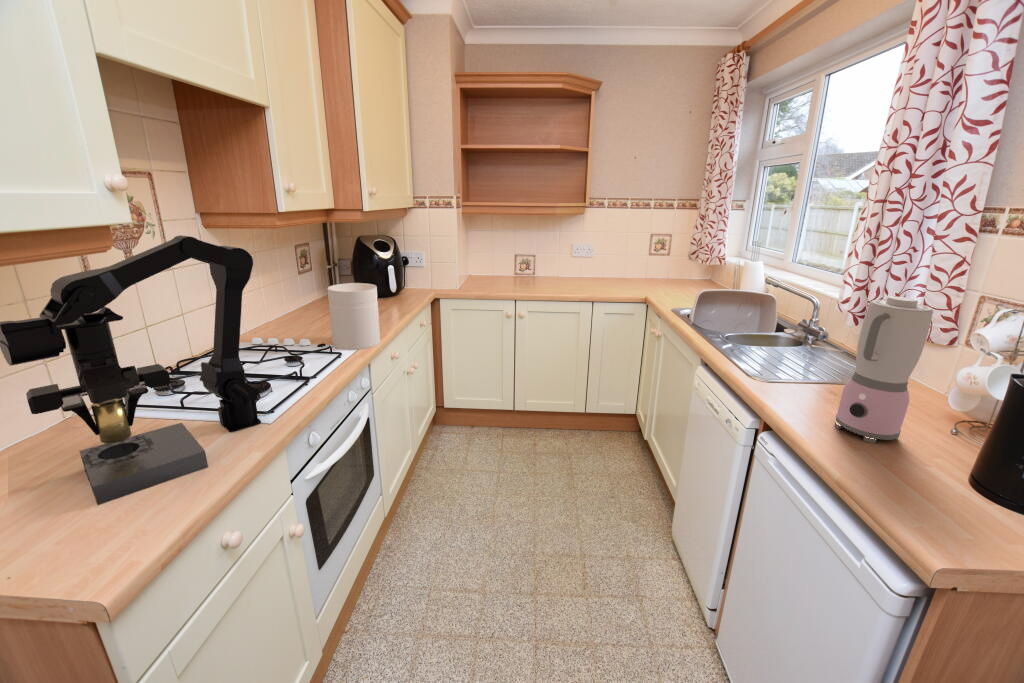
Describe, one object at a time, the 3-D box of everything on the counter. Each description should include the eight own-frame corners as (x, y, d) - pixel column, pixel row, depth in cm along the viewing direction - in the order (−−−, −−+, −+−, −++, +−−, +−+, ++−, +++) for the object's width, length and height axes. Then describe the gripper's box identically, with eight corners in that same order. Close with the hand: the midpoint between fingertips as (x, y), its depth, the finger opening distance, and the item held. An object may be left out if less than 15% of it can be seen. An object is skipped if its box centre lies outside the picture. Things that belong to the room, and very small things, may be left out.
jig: (184, 437, 98) (181, 422, 96) (208, 467, 87) (205, 450, 86) (83, 467, 86) (79, 450, 85) (97, 505, 76) (92, 487, 75)
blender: (851, 415, 116) (885, 291, 107) (908, 437, 106) (951, 302, 97) (814, 428, 109) (847, 296, 100) (872, 452, 99) (914, 308, 90)
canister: (322, 346, 158) (316, 289, 152) (351, 334, 173) (347, 281, 167) (362, 352, 153) (357, 293, 147) (388, 339, 168) (385, 285, 162)
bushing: (128, 429, 88) (120, 395, 86) (133, 437, 85) (125, 402, 83) (98, 437, 85) (89, 402, 82) (102, 446, 82) (92, 409, 80)
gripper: (17, 375, 68) (47, 467, 73) (169, 348, 81) (186, 427, 86) (14, 357, 75) (41, 442, 80) (154, 335, 88) (170, 408, 93)
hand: (114, 429), depth 84 cm, fingers closed on bushing, 4 cm apart
